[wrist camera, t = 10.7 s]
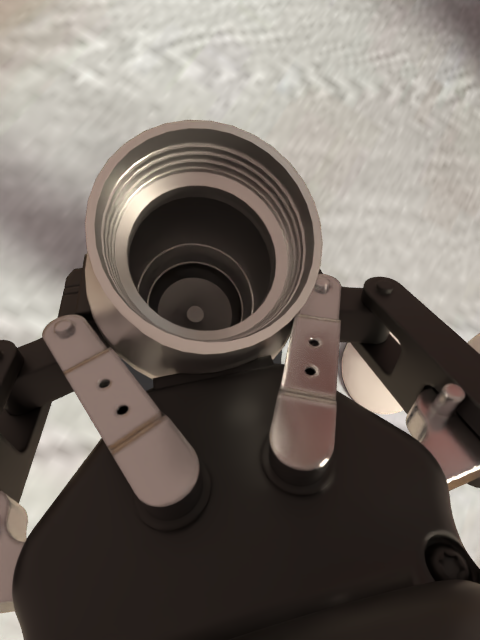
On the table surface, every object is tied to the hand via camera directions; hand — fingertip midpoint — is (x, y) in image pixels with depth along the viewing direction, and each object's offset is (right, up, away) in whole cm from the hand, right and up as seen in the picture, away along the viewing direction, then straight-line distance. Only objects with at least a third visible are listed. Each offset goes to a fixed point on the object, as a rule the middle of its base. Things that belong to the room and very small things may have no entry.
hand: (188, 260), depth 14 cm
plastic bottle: (-1, -2, +11) cm, 11 cm away
